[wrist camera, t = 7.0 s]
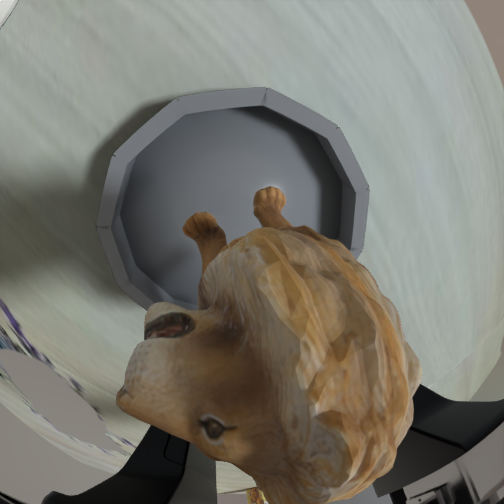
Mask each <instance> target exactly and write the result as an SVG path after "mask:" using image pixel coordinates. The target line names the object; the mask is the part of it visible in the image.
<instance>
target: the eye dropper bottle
mask: <svg viewBox="0 0 504 504" xmlns="http://www.w3.org/2000/svg"><path fill="white" fill-rule="evenodd" d="M18 1H19V0H0V28H1V26H2V25H3V24H4V22H5V21H6V20H7V18H8V17H9V15H10V14H11V12H12V11H13V9H14V7H15V6H16V4H17V2H18Z"/></svg>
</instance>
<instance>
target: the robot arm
mask: <svg viewBox="0 0 504 504" xmlns="http://www.w3.org/2000/svg"><path fill="white" fill-rule="evenodd" d="M412 399H413V407H414V413H413V421H412V424H411V426H410V428H409V429H408V431H407V433H406V436H405V437H404V439H403V440H402V442H401V443H400V445H399V446H398V447H397V454H396V458H395V461H394V464H393V467H392V468H391V469H390V471H389V472H388V473H386V474H385V475H383V476H381V477H379V478H376V480H375V481H374V482H373V483H372V484H373V487H374V489H375V492H376V494H377V497H381V496H384V495H386V494H390V497H391V499H392V502H393V504H504V399H502V400H499V401H493V402H467V401H453V400H449V399H447V398H444V397H442V396H441V395H439V394H437V393H435V392H434V391H432V390H430V389H428V388H427V387H425V386H423V385H421V384H419V386H418V388H417V390H416V392H415V394H414V395H413V397H412ZM0 504H27V503H25V502H22V501H20V500H18V499H15V498H13V497H11V496H9V495H7V494H5V493H3V492H1V491H0ZM42 504H217V488H216V460H212V459H210V458H208V457H206V456H205V455H204V454H203V453H202V451H200V450H199V449H198V448H197V447H196V446H195V445H194V444H192V443H190V442H188V441H186V440H184V439H182V438H179V437H177V436H174V435H172V434H170V433H168V432H166V431H164V430H161V429H159V428H157V427H155V426H153V425H151V426H150V427H149V429H148V431H147V433H146V434H145V436H144V437H143V439H142V441H141V442H140V444H139V445H138V446H137V448H136V449H135V451H134V452H133V454H132V455H131V457H130V458H129V460H128V461H127V463H126V464H125V465H124V467H123V468H122V469H121V470H120V471H119V472H118V473H116V474H115V475H114V476H112V477H110V478H109V479H107V480H105V481H103V482H102V483H100V484H98V485H96V486H94V487H93V488H91V489H89V490H87V491H85V492H83V493H81V494H78V495H73V496H69V495H65V494H62V493H59V492H56V491H52V492H50V493H49V494H48V495H47V496H45V498H44V499H43V501H42Z"/></svg>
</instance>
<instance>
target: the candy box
mask: <svg viewBox="0 0 504 504" xmlns="http://www.w3.org/2000/svg"><path fill="white" fill-rule="evenodd" d="M246 493H247V499H248V504H268V502H267V501H266V499H265V497H264V495H263V492H262V491H261V490H259V489H257V487H256V488H252V489H248V490H246Z"/></svg>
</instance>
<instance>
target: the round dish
mask: <svg viewBox="0 0 504 504" xmlns="http://www.w3.org/2000/svg"><path fill="white" fill-rule="evenodd" d="M337 126H338V125H336V124H335V123H333V122H332V121H330V120H328V119H327V118H325V117H323V116H321V115H320V114H318V113H316V112H315V111H313V110H311V109H309V108H307V107H306V106H304V105H302V104H300V103H298V102H296V101H294V100H293V99H291V98H289V97H287V96H285V95H283V94H281V93H279V92H277V91H275V90H273V89H271V88H266V87H256V88H242V89H231V90H222V91H213V92H206V93H199V94H192V95H186V96H181V97H179V99H178V98H175V99H174V100H173V101H172V102H170V103H169V104H168V105H167V106H165V107H164V108H163V109H162V110H160V111H159V112H158V113H157V114H156V115H154V116H153V117H152V118H151V119H150V120H149V121H147V122H146V123H145V124H144V125H143V126H142V127H141V128H140V129H138V130H137V131H136V132H135V133H134V134H133V135H132V136H131V137H130V138H129V139H128V140H127V141H126V142H125V143H123V144H122V145H121V146H120V147H119V148H118V149H117V150H116V151H115V152H114V153H113V154H114V155H112V158H111V161H110V165H109V168H108V172H107V176H106V180H105V184H104V188H103V192H102V197H101V201H100V206H99V211H98V216H97V221H96V226H97V227H96V230H97V233H98V236H99V239H100V241H101V244H102V247H103V250H104V252H105V255H106V258H107V260H108V263H109V265H110V268H111V270H112V273H113V275H114V278H115V280H116V283H117V285H118V286H120V287H119V288H120V289H121V290H122V291H124V292H125V293H126V294H127V295H128V296H129V297H131V298H132V299H133V300H134V301H135V302H137V303H138V304H139V305H140V306H142V307H143V308H144V309H145V310H147V311H148V309H149V307H150V306H151V305H152V304H155V303H158V302H168V303H171V304H175V305H177V306H180V307H182V308H185V309H187V310H198V306H197V302H198V286H199V282H200V278H201V276H202V258H201V254H200V250H199V248H198V245H197V243H196V242H195V241H194V240H193V239H191V238H190V237H188V236H186V235H185V234H184V232H183V226H184V225H185V222H186V220H187V219H188V218H189V217H191V216H192V215H193V214H195V213H196V212H209V213H210V214H212V215H213V216H214V217H215V219H216V221H217V223H218V226H220V227H221V228H222V229H223V230H224V232H225V235H226V241H227V244H229V243H230V242H231V241H233V240H234V239H237V238H239V237H242V236H246V235H247V233H249V232H251V231H253V230H255V229H257V228H262V226H261V224H260V222H259V220H258V219H257V218H256V217H255V216H254V213H253V210H254V208H253V199H254V195H255V193H256V192H257V191H258V190H260V189H262V188H265V187H268V186H273V187H276V188H279V189H280V190H281V192H282V193H283V194H284V196H285V198H286V204H285V206H284V207H283V208H282V210H281V215H282V216H283V217H284V218H285V219H286V220H287V221H288V222H289V223H290V224H291V225H292V226H293V227H298V226H302V225H306V226H309V227H310V228H312V229H313V230H315V231H316V232H317V233H319V234H321V235H323V236H325V237H327V238H328V239H334V240H337V241H339V242H341V243H342V244H343V245H344V246H345V247H346V248H347V249H348V250H349V251H350V252H351V254H352V255H353V256H354V258H355V259H356V260H357V258H358V257H359V255H360V254H361V252H362V250H361V249H363V246H364V238H365V230H366V222H367V213H368V203H369V192H370V189H368V188H369V185H368V183H367V181H366V179H365V177H364V174H363V172H362V170H361V168H360V166H359V164H358V162H357V160H356V158H355V156H354V154H353V152H352V150H351V148H350V146H349V144H348V142H347V140H346V138H345V136H344V134H343V133H342V131H341V129H340V127H337Z"/></svg>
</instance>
